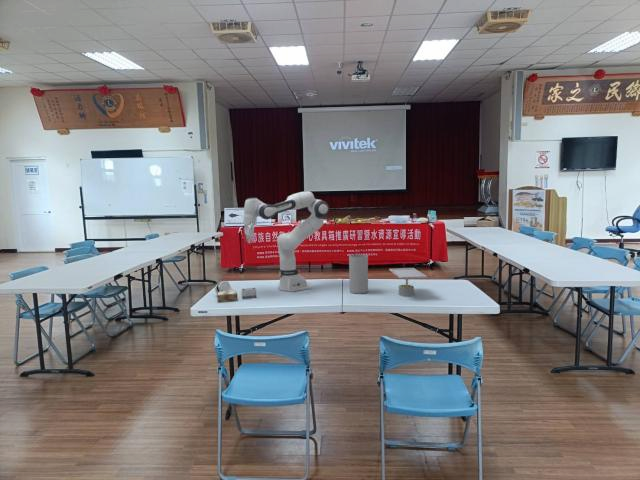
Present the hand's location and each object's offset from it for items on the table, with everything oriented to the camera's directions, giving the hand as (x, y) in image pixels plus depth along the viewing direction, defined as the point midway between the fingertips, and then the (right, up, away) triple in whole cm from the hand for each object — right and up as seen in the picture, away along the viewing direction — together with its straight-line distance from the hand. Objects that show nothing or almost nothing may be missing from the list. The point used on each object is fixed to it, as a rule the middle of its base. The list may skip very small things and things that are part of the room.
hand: (248, 242), depth 291 cm
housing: (+2, -37, -7) cm, 37 cm away
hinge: (-17, -36, +3) cm, 40 cm away
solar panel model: (+106, -35, -6) cm, 111 cm away
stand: (-11, -37, -12) cm, 41 cm away
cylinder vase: (+75, -34, +4) cm, 82 cm away
